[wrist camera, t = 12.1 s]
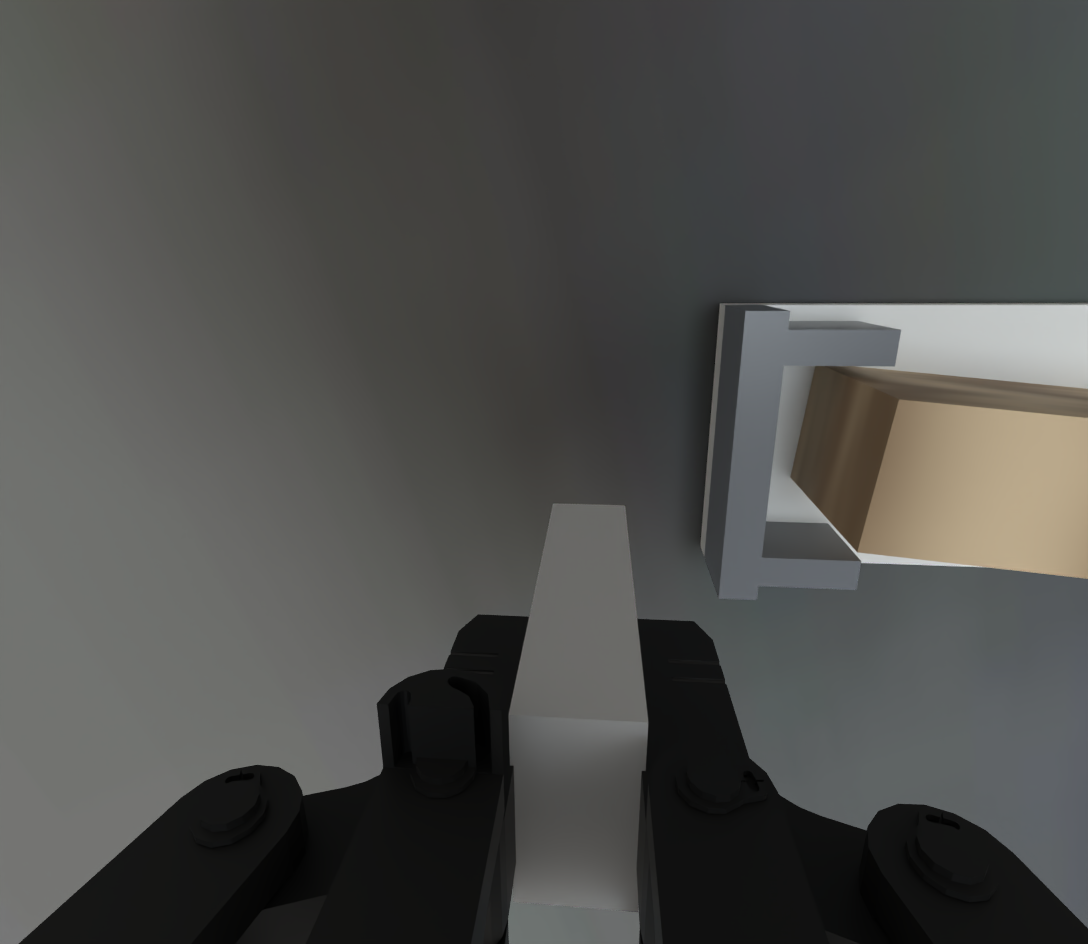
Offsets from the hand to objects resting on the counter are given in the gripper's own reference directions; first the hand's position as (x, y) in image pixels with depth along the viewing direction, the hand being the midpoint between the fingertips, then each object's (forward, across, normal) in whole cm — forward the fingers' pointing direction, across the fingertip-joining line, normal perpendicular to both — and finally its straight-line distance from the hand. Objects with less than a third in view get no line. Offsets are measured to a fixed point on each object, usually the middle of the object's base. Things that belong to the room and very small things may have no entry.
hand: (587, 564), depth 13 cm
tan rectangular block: (+9, +14, 0) cm, 17 cm away
